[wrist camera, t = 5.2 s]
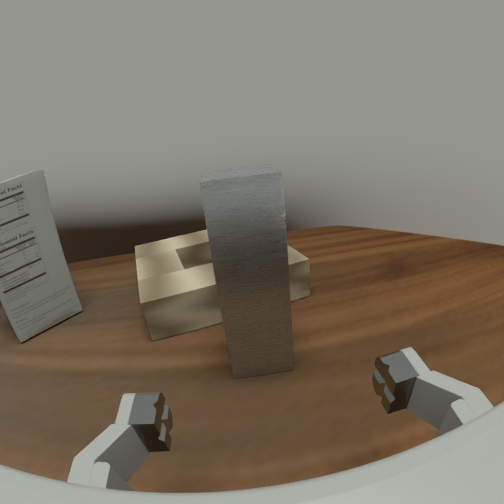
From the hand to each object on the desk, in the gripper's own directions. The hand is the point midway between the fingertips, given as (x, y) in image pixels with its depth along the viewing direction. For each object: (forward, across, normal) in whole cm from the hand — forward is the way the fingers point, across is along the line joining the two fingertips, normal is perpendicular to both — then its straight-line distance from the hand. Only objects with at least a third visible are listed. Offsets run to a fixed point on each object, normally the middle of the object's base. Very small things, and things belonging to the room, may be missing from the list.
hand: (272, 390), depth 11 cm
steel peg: (+11, 0, -8) cm, 13 cm away
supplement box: (+21, -26, -8) cm, 34 cm away
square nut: (+24, -4, -8) cm, 26 cm away
